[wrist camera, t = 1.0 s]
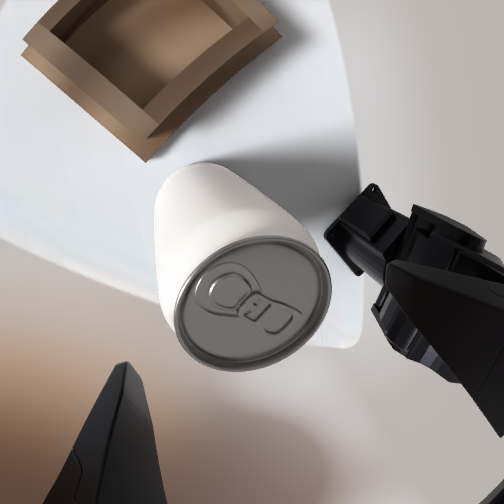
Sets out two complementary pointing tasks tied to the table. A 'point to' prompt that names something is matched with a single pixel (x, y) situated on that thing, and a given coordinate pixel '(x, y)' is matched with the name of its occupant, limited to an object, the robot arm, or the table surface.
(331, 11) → the table surface
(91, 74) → the socket
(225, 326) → the can
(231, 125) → the table surface
